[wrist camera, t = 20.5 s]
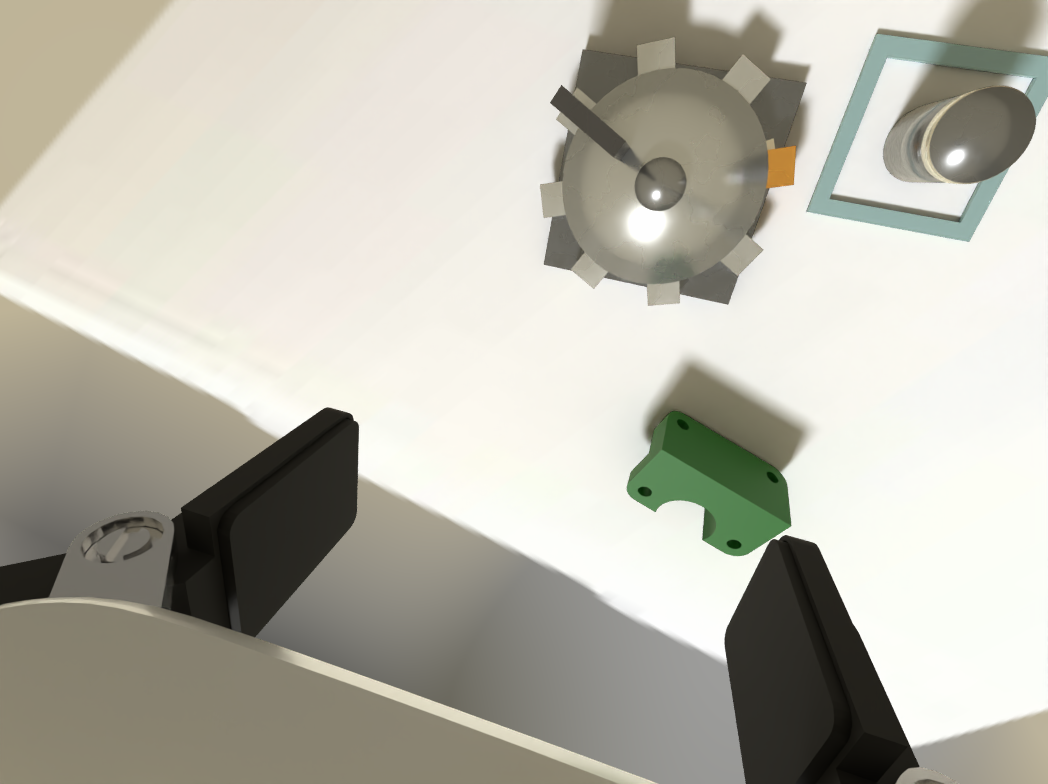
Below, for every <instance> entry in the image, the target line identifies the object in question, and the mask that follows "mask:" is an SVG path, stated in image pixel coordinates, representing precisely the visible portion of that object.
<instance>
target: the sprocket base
mask: <svg viewBox="0 0 1048 784" xmlns="http://www.w3.org/2000/svg"><path fill="white" fill-rule="evenodd" d="M675 68H687V69H693V70H699V71H702V72H705V73H708V74H711V75H714V76H715V77H717V78H719V79H721V80H722V79H723V78H724V77H725V76H726V74H727V73H728V72H729V71H723V70H717V69H710V68H703V67H697V66H690V65H683V64H676V63H675ZM636 76H638V63H637V58H636V57H630V56H623V55H616V54H609V53H603V52H596V51H589V50H583V51H582V56H581V62H580V67H579V73H578V78H577V84H576V89H577V88H579V89H580V90H581V91H582V92H583V93H584V94H585V95H587V96H588V97H589V98H590V99H591V100H592V101H593V102H595V103H596V104H597V103H598V102H599V101H600V100H601V99H602V98H603V97H604V96H605V95H606V94H608V93H609V92H610V91H612V90H613V89H614V88H615V87H617V86H619V85H620V84H622V83H624V82H625V81H627V80H629V79H631V78H634V77H636ZM769 78H770V77H769ZM770 79H771V80H770V81H769V82H768V83H767V84H766V85H765V87H764V88H763V89H762V90H761V91H760V93H759V94H758V95H757V96H756V97H755V99H754V100H753V101H752V102H751V103H750V104H749V105H750V106H751V108H752V109H753V110H754V112H755V114H756V116H757V118H758V120H759V122H760V124H761V126H762V129H763V132H764V136H765V139H766V144H767V150H771V149H778V148H784V146H785V143H786V140H787V137H788V134H789V131H790V129H791V126H792V123H793V120H794V117H795V114H796V112H797V109H798V106H799V103H800V100H801V98H802V95H803V92H804V89H805V86H806V83H804V82H797V81H790V80H784V79H777V78H770ZM576 89H575V90H576ZM574 136H575V135H574V134H573V133H571V132H570V131H569V130H568V133H567V139H566V144H565V150H564V155H563V161H562V166H561V172H560V177H559V182H560V181H563V170H564V165H565V160H566V156H567V153H568V150H569V147H570V144H571V142H572V140H573V138H574ZM768 191H769V188H766V190H765V194H764V198H763V201H762V204H761V206H760V209H759V212H758V214H757V216H756V218H755V220H754V222H753V224H752V226H751V227H750V229H749V230H748V232H747V233H746V235H747V236H748V237H749V238H751V239H752V236H753V233H754V230H755V227H756V225H757V222H758V219H759V216H760V213H761V210H762V208H763V205H764V202H765V199H766V196H767V194H768ZM583 254H584V251H583V249H582V248H581V247H580V245H579V244H578V242H577V240H576V239H575V237H574V235H573V233H572V231H571V229H570V226H569V224H568V221H567V218H566V215H562V216H554V217H552V221H551V227H550V232H549V238H548V243H547V249H546V255H545V260H544V265H548V266H553V267H557V268H562V269H567V270H571V269H572V267H573V266H574V265H575V264H576V262H577V261H578V260H579V259H580V257H581V256H582V255H583ZM571 271H572V270H571ZM604 278H608V279H613V280H617V281H622V282H627V283H631V284H636V285H640V286H645V287H647V284H644V283H637V282H632V281H628V280H625V279H622V278H620V277H617V276H615V275H613V274H611V273H609V272H608V273H607V274H606V275H605V276H604ZM737 278H738V276H737V275H736V274H735V273H734V272H733V271H731V270H730V269H729V268H728V267H727V266H726V265H724V264H723V263H722V262H721V261H719V262H718V263H716V264H715V265H714V266H712V267H711V268H709V269H707V270H705V271H704V272H702V273H700V274H697V275H695V276H693V277H690V278H688V279H684V280H681V281H679V289H680V294H682V295H687V296H691V297H696V298H700V299H705V300H710V301H714V302H719V303H723V304H729V301H730V298H731V295H732V292H733V290H734V287H735V284H736V281H737Z"/></svg>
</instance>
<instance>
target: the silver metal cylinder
mask: <svg viewBox="0 0 1048 784" xmlns="http://www.w3.org/2000/svg"><path fill="white" fill-rule="evenodd" d="M1035 125H1036V114H1035V110H1034V106H1033V104H1032V102H1031V101H1030V99H1029V98H1028V97H1027V96H1026V95H1025V94H1024V93H1023V92H1021V91H1019V90H1018V89H1015V88H1012V87H1008V86H989V87H984V88H981V89H977V90H974V91H970V92H968V93H965V94H963V95H960V96H956V97H952V98H949V99H945V100H942V101H938V102H934V103H931V104H927V105H924V106H921V107H918V108H916V109H914V110H912V111H910V112H909V113H907V114H906V115H905V116H903V117H902V118H901V119H900V120H899V121H898V122H897V123H896V124H895V125H894V127H893V128H892V129H891V131H890V132H889V134H888V136H887V138H886V141H885V144H884V149H883V159H884V163H885V166H886V168H887V170H888V171H889V172H890V174H891V175H893V176H894V177H895V178H897V179H899V180H901V181H905V182H917V183H952V184H971V183H978V182H982V181H985V180H988V179H990V178H992V177H994V176H997V175H998V174H1000V173H1002V172H1003V171H1005V170H1006V169H1007V168H1009V167H1010V166H1011V165H1012V164H1013V163H1015V162H1016V161H1017V159H1018V158H1019V157H1020V156H1021V155H1022V154H1023V152H1024V151H1025V150H1026V148H1027V146H1028V145H1029V143H1030V141H1031V139H1032V137H1033V134H1034V130H1035Z"/></svg>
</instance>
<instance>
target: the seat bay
mask: <svg viewBox="0 0 1048 784" xmlns="http://www.w3.org/2000/svg"><path fill="white" fill-rule="evenodd" d="M887 58H892V59H899V60H906V61H914V62H921V63H928V64H935V65H942V66H950V67H957V68H964V69H971V70H978V71H986V72H993V73H1000V74H1007V75H1014V76H1022V77H1029V78H1033V80H1032V82H1031V84H1030V86H1029V88H1028V90H1027V91H1026V93H1025V95H1026V96H1027V97H1028V98H1029V99H1030V101H1031V102H1032V104H1033V106H1034V110H1035V114H1036V117H1037V115H1038V114H1039V112H1040V110H1041V108H1042V106H1043V104H1044V102H1045V101H1046V99H1047V97H1048V56H1041V55H1033V54H1026V53H1018V52H1011V51H1003V50H996V49H988V48H981V47H973V46H965V45H958V44H950V43H943V42H935V41H928V40H920V39H913V38H905V37H898V36H890V35H882V34H876V35H875V37H874V40H873V43H872V45H871V48H870V50H869V53H868V55H867V58H866V60H865V63H864V66H863V68H862V71H861V73H860V76H859V78H858V81H857V83H856V86H855V89H854V91H853V94H852V96H851V99H850V101H849V104H848V106H847V109H846V112H845V114H844V117H843V119H842V122H841V124H840V127H839V129H838V132H837V135H836V137H835V140H834V142H833V145H832V147H831V150H830V152H829V155H828V157H827V160H826V163H825V165H824V168H823V170H822V173H821V175H820V178H819V180H818V183H817V186H816V188H815V191H814V193H813V196H812V198H811V201H810V203H809V206H808V209H807V211H806V212H811V213H817V214H822V215H827V216H833V217H838V218H843V219H849V220H854V221H860V222H865V223H870V224H876V225H881V226H887V227H892V228H897V229H903V230H908V231H913V232H919V233H924V234H930V235H935V236H940V237H946V238H951V239H956V240H962V241H967V242H969V241H970V239H971V237H972V236H973V234H974V232H975V230H976V228H977V226H978V225H979V223H980V221H981V219H982V217H983V215H984V213H985V212H986V210H987V208H988V206H989V204H990V202H991V200H992V199H993V197H994V195H995V193H996V191H997V189H998V188H999V186H1000V184H1001V182H1002V180H1003V178H1004V176H1005V175H1006V173H1007V171H1008V169H1009V168H1007V169H1006V170H1005V171H1003V172H1002V173H1000V174H998V175H997V176H994V177H992V178H990V179H988V180H985V181H982V182H979V183H978V185H977V187H976V189H975V191H974V193H973V195H972V197H971V199H970V201H969V202H968V204H967V206H966V208H965V210H964V212H963V214H962V216H961V218H960V220H959V222H954V221H948V220H943V219H937V218H932V217H926V216H921V215H915V214H910V213H904V212H899V211H893V210H888V209H882V208H877V207H871V206H866V205H860V204H854V203H849V202H843V201H838V200H832V199H830V196H831V194H832V192H833V189H834V187H835V184H836V182H837V179H838V177H839V174H840V172H841V169H842V167H843V164H844V162H845V160H846V157H847V155H848V152H849V150H850V147H851V145H852V142H853V140H854V137H855V135H856V133H857V130H858V128H859V125H860V123H861V120H862V118H863V115H864V113H865V110H866V108H867V105H868V103H869V101H870V98H871V96H872V93H873V91H874V88H875V86H876V83H877V81H878V78H879V76H880V73H881V71H882V69H883V66H884V64H885V61H886V59H887Z"/></svg>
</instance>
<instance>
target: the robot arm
mask: <svg viewBox="0 0 1048 784" xmlns="http://www.w3.org/2000/svg"><path fill="white" fill-rule="evenodd" d="M358 442H359V425H358V423H357V422H356V421H354V420H353V416H352V415H351V414H350V413H347V412H343V411H340V410H336V409H333V408H324V409H323V410H321V411H320V412H318V413H317V414H315V415H314V416H312V417H311V418H310V419H308V420H307V421H305V422H304V423H302V424H301V425H299V426H298V427H297V428H295V429H294V430H292V431H291V432H289V433H288V434H286V435H285V436H284V437H282V438H281V439H279V440H278V441H276V442H275V443H274V444H272V445H271V446H269V447H268V448H266V449H265V450H264V451H262V452H261V453H259V454H258V455H256V456H255V457H253V458H252V459H251V460H249V461H248V462H246V463H245V464H243V465H242V466H240V467H239V468H238V469H236V470H235V471H234V472H232V473H230V474H229V475H227V476H226V477H225V478H223V479H222V480H220V481H219V482H217V483H216V484H215V485H213V486H212V487H210V488H209V489H207V490H206V491H204V492H203V493H202V494H200V495H199V496H197V497H196V498H194V499H193V500H192V501H190V502H189V503H187V504H186V505H184V506H183V507H182V508H181V511H182V513H181V514H179V515H178V516H176V517H175V518H173V519H172V520H170V519H169V517H167V516H165V515H163V514H161V513H158V512H150V511H136V512H128V513H123V514H118V515H114V516H112V517H109V518H106V519H104V520H101V521H99V522H97V523H95V524H93V525H92V526H90V527H88V528H86V529H85V530H84V531H83V532H81V533H80V534H79V535H78V536H77V537H75V539H74V540H73V542H72V543H71V545H70V546H69V548H68V551H67V553H66V554H61V555H56V556H51V557H46V558H41V559H36V560H31V561H26V562H21V563H17V564H12V565H7V566H2V567H0V784H658V783H655V782H652V781H649V780H647V779H644V778H642V777H639V776H636V775H633V774H631V773H628V772H625V771H623V770H620V769H617V768H614V767H612V766H609V765H606V764H603V763H600V762H598V761H595V760H593V759H590V758H587V757H585V756H582V755H579V754H577V753H573V752H571V751H568V750H566V749H563V748H560V747H558V746H555V745H552V744H549V743H547V742H544V741H541V740H539V739H536V738H533V737H530V736H528V735H525V734H522V733H519V732H517V731H514V730H511V729H508V728H506V727H503V726H500V725H497V724H495V723H492V722H489V721H486V720H484V719H481V718H478V717H475V716H473V715H470V714H467V713H464V712H462V711H459V710H456V709H453V708H451V707H448V706H445V705H442V704H440V703H437V702H434V701H431V700H429V699H426V698H423V697H420V696H418V695H415V694H412V693H409V692H407V691H403V690H401V689H398V688H395V687H392V686H390V685H387V684H384V683H381V682H378V681H376V680H373V679H370V678H368V677H365V676H362V675H359V674H356V673H354V672H351V671H348V670H345V669H342V668H340V667H337V666H334V665H331V664H328V663H325V662H323V661H320V660H317V659H314V658H312V657H309V656H306V655H303V654H300V653H297V652H294V651H291V650H289V649H286V648H283V647H281V646H278V645H275V644H272V643H269V642H267V641H263V640H261V639H257V638H255V637H256V635H257V634H258V633H259V632H260V631H261V630H262V629H263V627H264V626H265V625H266V624H267V623H268V622H269V620H270V619H271V618H272V617H273V616H274V615H275V614H276V612H277V611H278V610H279V609H280V608H281V607H282V606H283V604H284V603H285V602H286V601H287V600H288V599H289V597H290V596H291V595H292V594H293V593H294V592H295V591H296V590H297V588H298V587H299V586H300V585H301V584H302V582H304V580H305V579H306V578H307V577H308V576H309V575H310V573H311V572H312V571H313V570H314V569H315V568H316V566H317V565H318V564H319V563H320V562H321V561H322V560H323V559H324V557H325V556H326V555H327V554H328V553H329V552H330V550H331V549H332V548H333V547H334V546H335V545H336V543H337V542H338V541H339V540H340V539H341V538H342V537H343V536H344V534H345V533H346V532H347V531H348V530H349V529H350V527H351V526H352V524H353V523H354V520H355V518H356V513H357V483H358ZM725 651H726V658H727V664H728V671H729V677H730V684H731V690H732V696H733V702H734V710H735V716H736V723H737V729H738V736H739V742H740V749H741V755H742V762H743V768H744V775H745V781H746V784H959V783H958V782H956V781H955V780H953V779H951V778H949V777H947V776H945V775H943V774H941V773H939V772H937V771H933V770H930V769H926V768H922V767H919V765H918V762H917V760H916V758H915V756H914V754H913V751H912V749H911V747H910V745H909V743H908V740H907V738H906V736H905V734H904V731H903V729H902V727H901V725H900V723H899V720H898V718H897V716H896V714H895V712H894V709H893V707H892V705H891V703H890V701H889V698H888V696H887V694H886V692H885V690H884V687H883V685H882V683H881V681H880V679H879V676H878V674H877V672H876V670H875V668H874V665H873V663H872V661H871V659H870V657H869V654H868V652H867V650H866V648H865V646H864V643H863V641H862V639H861V637H860V635H859V633H858V631H857V629H856V628H855V626H854V625H853V623H852V621H851V619H850V616H849V614H848V612H847V610H846V608H845V605H844V603H843V601H842V599H841V596H840V594H839V592H838V590H837V588H836V585H835V583H834V581H833V579H832V576H831V574H830V572H829V570H828V568H827V565H826V563H825V561H824V559H823V556H822V554H821V552H820V550H819V548H818V546H817V545H816V544H815V543H812V542H809V541H805V540H802V539H798V538H795V537H791V536H787V535H785V536H783V537H781V538H780V540H776V539H773V540H771V541H770V543H769V544H768V546H767V548H766V550H765V552H764V554H763V556H762V558H761V560H760V562H759V564H758V566H757V568H756V570H755V572H754V574H753V576H752V578H751V580H750V582H749V584H748V586H747V588H746V590H745V592H744V594H743V596H742V598H741V600H740V602H739V604H738V606H737V608H736V611H735V613H734V615H733V617H732V619H731V621H730V623H729V625H728V627H727V629H726V633H725Z"/></svg>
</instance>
